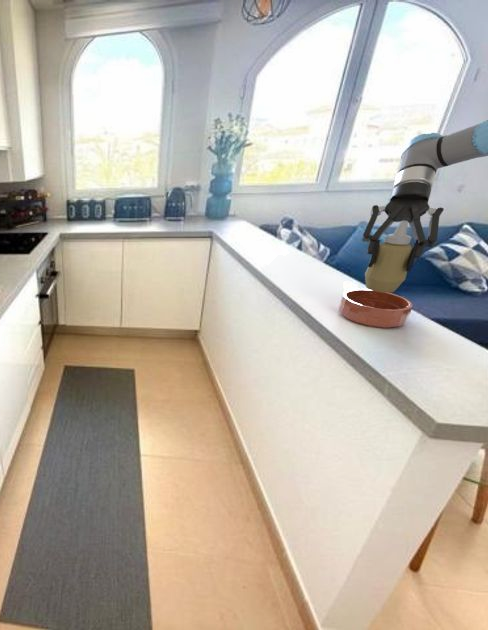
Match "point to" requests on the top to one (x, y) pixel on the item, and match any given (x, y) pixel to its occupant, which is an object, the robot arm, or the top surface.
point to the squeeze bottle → (390, 261)
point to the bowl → (375, 308)
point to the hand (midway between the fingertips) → (389, 266)
